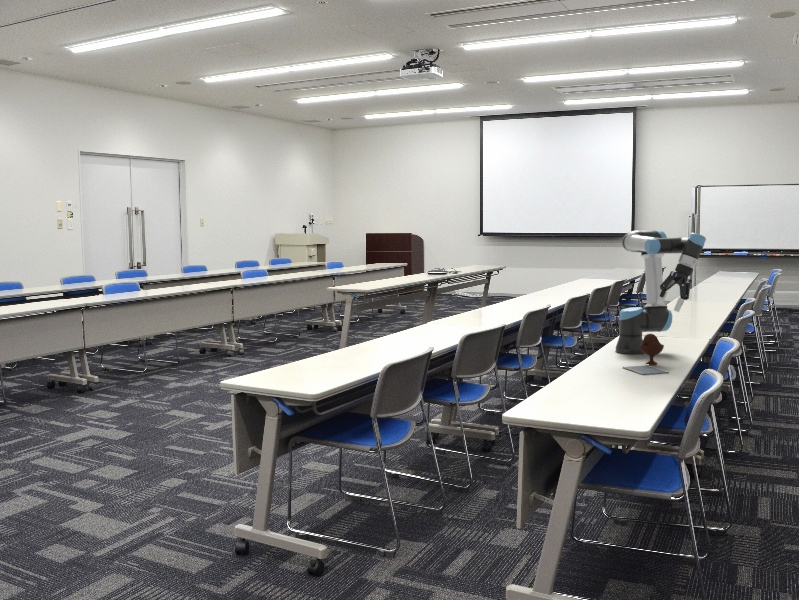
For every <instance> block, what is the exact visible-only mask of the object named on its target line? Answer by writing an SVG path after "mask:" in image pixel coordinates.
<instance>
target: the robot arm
mask: <svg viewBox="0 0 800 600" xmlns="http://www.w3.org/2000/svg"><path fill="white" fill-rule="evenodd" d="M706 241H707V237H706V236H704V235H702V234H700V233H696V232H690V234H689V236H688V237H684V236H680V237H668V236H667V234H666V233H665V232H664V231H662V230H656V229H653V230H652V229H650V230H649V229H646V230H631V231H629V232H627V233H626V234H625V235H623V237H622V239H621V245H622V247H623V248H624V250H626V251H628V252H630V253H640V256H641V257H642V258H643V259H644V260H643V261H644V270H645V271H644V273H645V276H644V277H645V289H646V290H645V293H646V294H645V296H646V304H645V305H644V306H643V307H640V306H639V307H637V306H635V307H634V306H633V307H627V308H623V309H621V310H620V311H619V317H618V320H619V322H618V325H619V327H618V328H619V329H618V330H619V332H618V334H619V335H618V336H619V337H618V340H617V343H616V346H615V353H617V354H618V353H620V354H626V355H639V354H645V353H644V352H643V351H642V350H641V348H640V344H642V342H643V340H644V338H643V333H652V332H653V333H654V332H656V333H657V332H658V333H661V332H666V331H668V330H670V328H671V326H672V323H673V312H672V310H671V309H669V308H668V305H667V304H666V303H665V300H666V298H667V295H668V293H669V292H668V290H671V288H673V287H674V286H675V285H678V286H679V297H678V299H677V301H676V304H675V306H674V308H673V311H674V312H676V313H677V312H678V313H680V311H681V309H682V306H683V304H684V302H685V301H688V300H689V299H690V290H691V284H692V279H691V278H688V277H691V276H692V274H693V272H694V268H695V266H696V264H697V263H698V262H697V261H698V259H699V258H700V255H701V253H702V251H703V248H704V246H705V244H706ZM665 254H680V257H679V258H678V263H677V264H676V266H675V268H674V270H671V271H670V273H669V275H668V276H667V277H666V278H663V263H662V262H663V261H662V258H663V257H664V256H665Z"/></svg>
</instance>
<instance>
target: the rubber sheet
mask: <svg viewBox="0 0 800 600" xmlns="http://www.w3.org/2000/svg"><path fill="white" fill-rule="evenodd" d="M622 369H624V370H627V371H629V372H632V371H633V372H632V373H635V372H636V374H638V373H639V375H641V374H642V376H647V375H646V374H652V375H661V374H660V373H666V374H669V373H670V372H669V371H668V370H665V369H661V368H658V367H654V366H653V365H646V364H645V365H633V366H632V365H630V366H622Z"/></svg>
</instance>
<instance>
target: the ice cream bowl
mask: <svg viewBox="0 0 800 600" xmlns="http://www.w3.org/2000/svg"><path fill="white" fill-rule="evenodd" d="M640 348H641V350H642V351H643V352H644V353H643V354H645V355H647V356H649V360H648V361H646V362H645V365H646V364H649V366H657V365H656V364H658V363H657V362H656V361H655V360H654V357H656V356H657V355H659V354H660V353H661V352H662V351H663V350H664V349H665V344H663V343H661V342H660V341H659V338H658V336H656V335H655V334H653V333H647V334H645V335H644V336H643V342H642V344H640Z"/></svg>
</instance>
